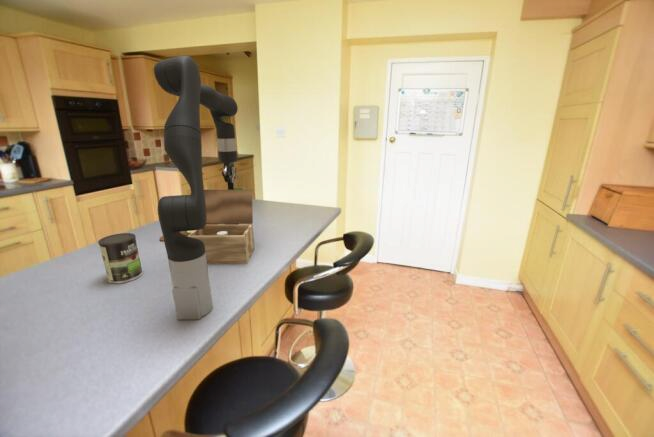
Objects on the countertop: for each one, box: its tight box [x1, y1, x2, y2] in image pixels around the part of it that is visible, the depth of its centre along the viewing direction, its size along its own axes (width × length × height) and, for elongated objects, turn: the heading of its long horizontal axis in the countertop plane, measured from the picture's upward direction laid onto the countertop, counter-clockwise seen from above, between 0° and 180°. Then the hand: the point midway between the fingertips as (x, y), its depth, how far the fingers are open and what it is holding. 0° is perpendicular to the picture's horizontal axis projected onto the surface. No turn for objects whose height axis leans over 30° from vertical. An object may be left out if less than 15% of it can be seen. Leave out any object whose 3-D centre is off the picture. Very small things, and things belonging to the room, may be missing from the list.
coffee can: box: [97, 232, 144, 284], centre depth 102 cm, size 10×10×14 cm
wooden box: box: [188, 224, 255, 265], centre depth 118 cm, size 14×21×11 cm, turn 91°
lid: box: [204, 189, 254, 224], centre depth 123 cm, size 14×21×2 cm
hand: (231, 191), depth 129 cm, fingers closed
